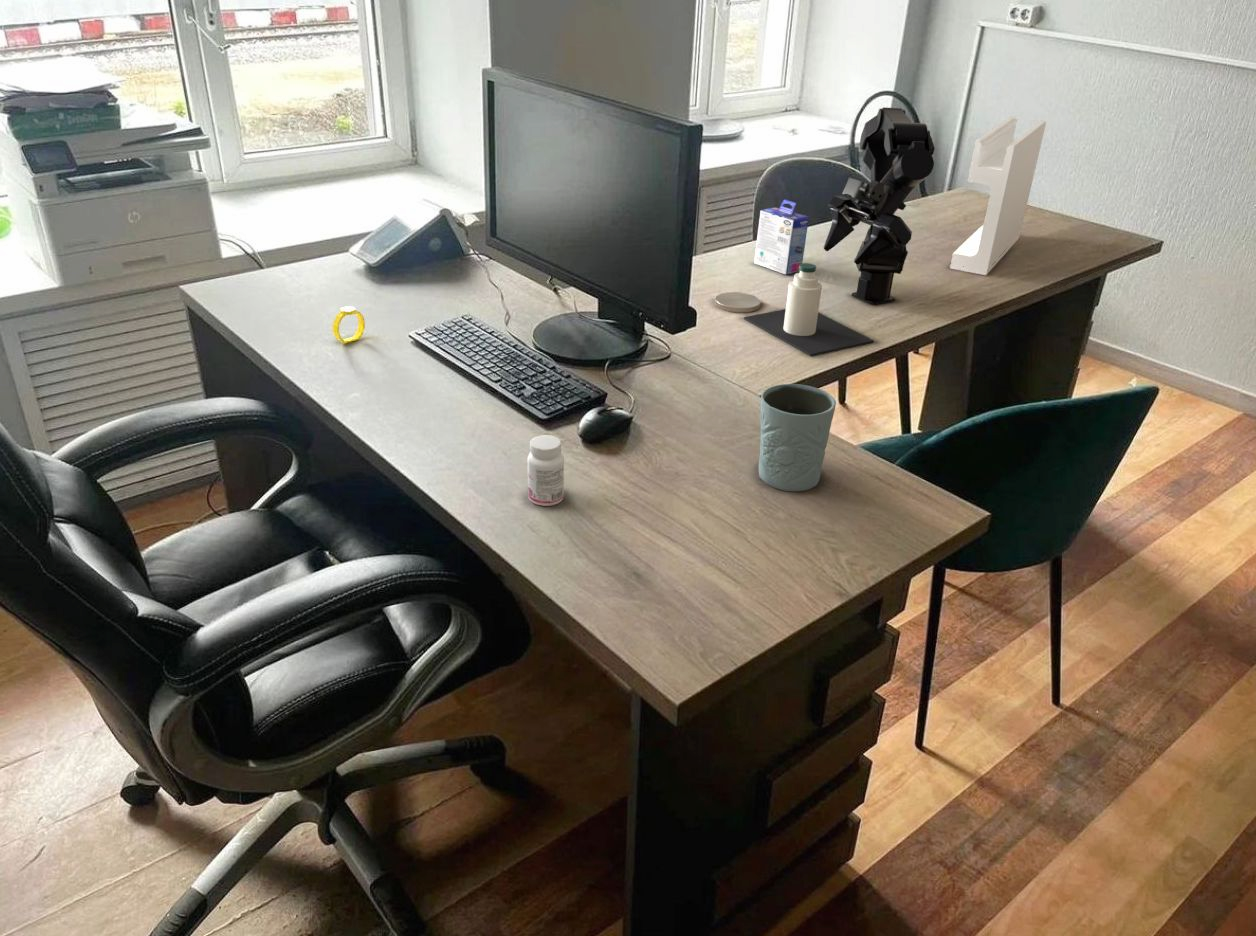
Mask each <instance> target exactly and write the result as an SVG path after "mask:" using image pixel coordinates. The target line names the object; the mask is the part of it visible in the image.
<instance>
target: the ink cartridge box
mask: <svg viewBox="0 0 1256 936" xmlns="http://www.w3.org/2000/svg"><path fill="white" fill-rule="evenodd" d="M797 204H798V203H797V202H794V201H791V200H788V199H783V200H782V202H781V204H780V205H779V207H769V208H764V209H761V210H760V212H759V219H758V228H757V237H756V245H755V253H754V261H753V264H754V265H757V266H761V267H763V268H765V269H768V270H771V271H773V272H776V273H779V274H783V275H790V274H797V273H800V270H799V265H800V264H803V262H804V256H805V248H806V239H807V233H808V226H809V219H810V217H809V216H807V215H804V214H802V213H797V212H794V211H795V210H796V209H795V208H796V206H797ZM785 205H790V207H791V208H789V207H786V206H785Z"/></svg>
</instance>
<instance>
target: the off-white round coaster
mask: <svg viewBox="0 0 1256 936" xmlns="http://www.w3.org/2000/svg"><path fill="white" fill-rule="evenodd" d="M714 305H715V307H717V308H718V309H720V310H722V311H727V312H732V313H751V312H755V311H758V310H759V309H760V307H761V300H760V299H759V297H757V296H756V295H753V294H750V293H746V292H740V291H739V292H738V291H730V292H722V293H719V294H717V295H716V296H715V297H714Z"/></svg>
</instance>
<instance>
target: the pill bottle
mask: <svg viewBox="0 0 1256 936" xmlns="http://www.w3.org/2000/svg"><path fill="white" fill-rule="evenodd" d="M529 451H530V452H529V453H528V455H527V495H528V500H529V501H530V502H531V503H533V504H534V505H537V506H544V507H548V506H549V507H550V506H555V505H557V504H560V503H561V502H562V501H563V500H564V496H565V484H564V483H565V457H564V454H563V453H562V441H561V439H560V438H558V437H557V436H555V435H550V434H541V435H537V436H535V437H533V438H532V439H531V440H530V441H529Z"/></svg>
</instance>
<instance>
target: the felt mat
mask: <svg viewBox="0 0 1256 936" xmlns="http://www.w3.org/2000/svg"><path fill="white" fill-rule="evenodd" d="M785 311H786V308H784V309H779V310H774V311H768V312H764V313H757V314H752V315H748V316H743V319H744V320H745V321H747V322H748V323H751V324H752V325H754V326H755V327H758V328H759V329H761V330H763V331H765V332H766V333H768V334H770V335H772V336H774V337H776V338H777V339H778V340H780V341H782V342H784V343H786V344H788V345H790V346H791V347H793V348H795V349H797V350H799V351H800V352H802V353H804V354H805V355H807V356H809V357H813V356H818V355H822V354H827V353H831V352H832V353H833V352H836V351H839V350H845V349H849V348H854V347H858V346H859V347H860V346H863V345H869V344H873V343H874V339H872V338H870V337H868V336H866V335H864V334H862V333H860V332H858V331H856V330H854V329H852V328H850V327H848V326H846V325H845V324H843V323H840V322H838V321H837V320H835V319H832V318H830V317H828V316H827V315H824V314H822V313H820V312H818V317H817V325H816V332H815V333H814V334H813V335H809V336H797V335H792V334H789V333H787V332H785V331H784V329H783V328H784V320H785Z"/></svg>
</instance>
